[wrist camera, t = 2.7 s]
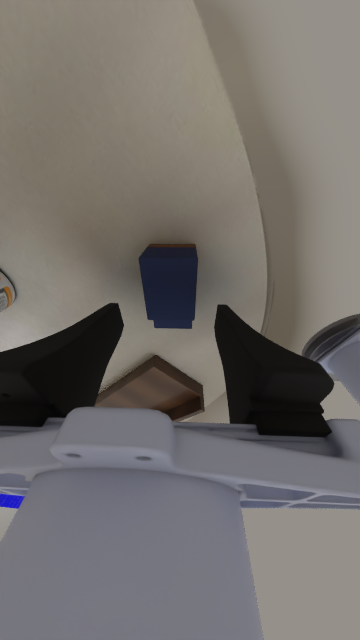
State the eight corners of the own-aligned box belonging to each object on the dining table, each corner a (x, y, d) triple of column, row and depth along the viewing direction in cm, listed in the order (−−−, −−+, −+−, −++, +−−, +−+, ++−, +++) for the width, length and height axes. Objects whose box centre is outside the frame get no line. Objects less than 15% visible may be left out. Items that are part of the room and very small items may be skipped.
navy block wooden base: (149, 244, 14) (138, 258, 11) (195, 244, 14) (197, 258, 11) (156, 315, 19) (150, 339, 16) (192, 315, 19) (193, 340, 16)
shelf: (156, 354, 23) (150, 380, 20) (202, 385, 27) (204, 411, 24) (54, 424, 39) (42, 445, 36) (94, 437, 43) (86, 457, 40)
